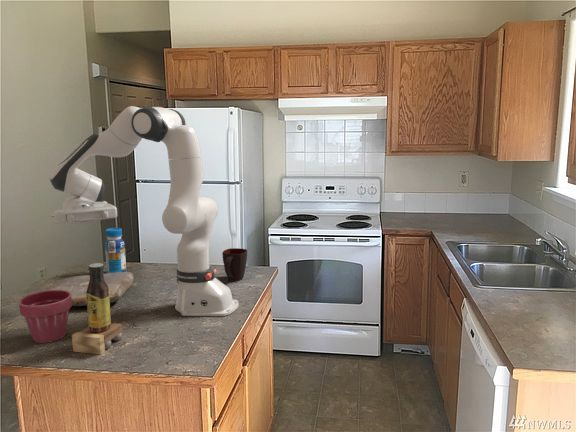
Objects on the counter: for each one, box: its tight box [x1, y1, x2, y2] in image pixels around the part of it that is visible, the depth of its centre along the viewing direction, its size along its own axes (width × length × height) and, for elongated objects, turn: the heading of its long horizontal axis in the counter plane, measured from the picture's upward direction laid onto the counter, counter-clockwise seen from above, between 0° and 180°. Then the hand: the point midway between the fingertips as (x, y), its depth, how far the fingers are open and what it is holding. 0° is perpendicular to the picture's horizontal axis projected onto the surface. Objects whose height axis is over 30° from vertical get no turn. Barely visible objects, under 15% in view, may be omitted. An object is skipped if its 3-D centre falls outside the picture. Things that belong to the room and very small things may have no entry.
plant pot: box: [18, 290, 73, 344], centre depth 148 cm, size 14×14×13 cm
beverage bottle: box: [104, 227, 127, 273], centre depth 213 cm, size 8×8×20 cm
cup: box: [221, 247, 248, 282], centre depth 203 cm, size 10×14×12 cm
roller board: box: [71, 322, 124, 355], centre depth 143 cm, size 9×11×5 cm
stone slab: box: [45, 271, 135, 307], centre depth 184 cm, size 31×29×6 cm
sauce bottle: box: [86, 262, 112, 332], centre depth 142 cm, size 6×6×20 cm
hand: (90, 217), depth 161 cm, fingers open, 8 cm apart
